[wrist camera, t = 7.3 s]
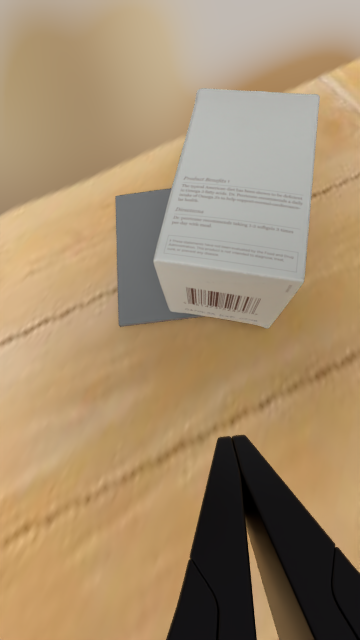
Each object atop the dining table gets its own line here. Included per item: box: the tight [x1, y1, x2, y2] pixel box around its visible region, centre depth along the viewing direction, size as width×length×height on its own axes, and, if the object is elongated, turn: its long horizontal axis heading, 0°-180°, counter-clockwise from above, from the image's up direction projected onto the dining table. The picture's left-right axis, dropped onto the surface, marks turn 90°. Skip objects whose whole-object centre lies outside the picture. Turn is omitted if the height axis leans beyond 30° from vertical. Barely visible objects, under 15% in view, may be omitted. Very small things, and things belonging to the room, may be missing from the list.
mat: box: [116, 188, 205, 327], centre depth 22 cm, size 12×12×1 cm
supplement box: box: [153, 88, 319, 328], centre depth 18 cm, size 7×7×13 cm
